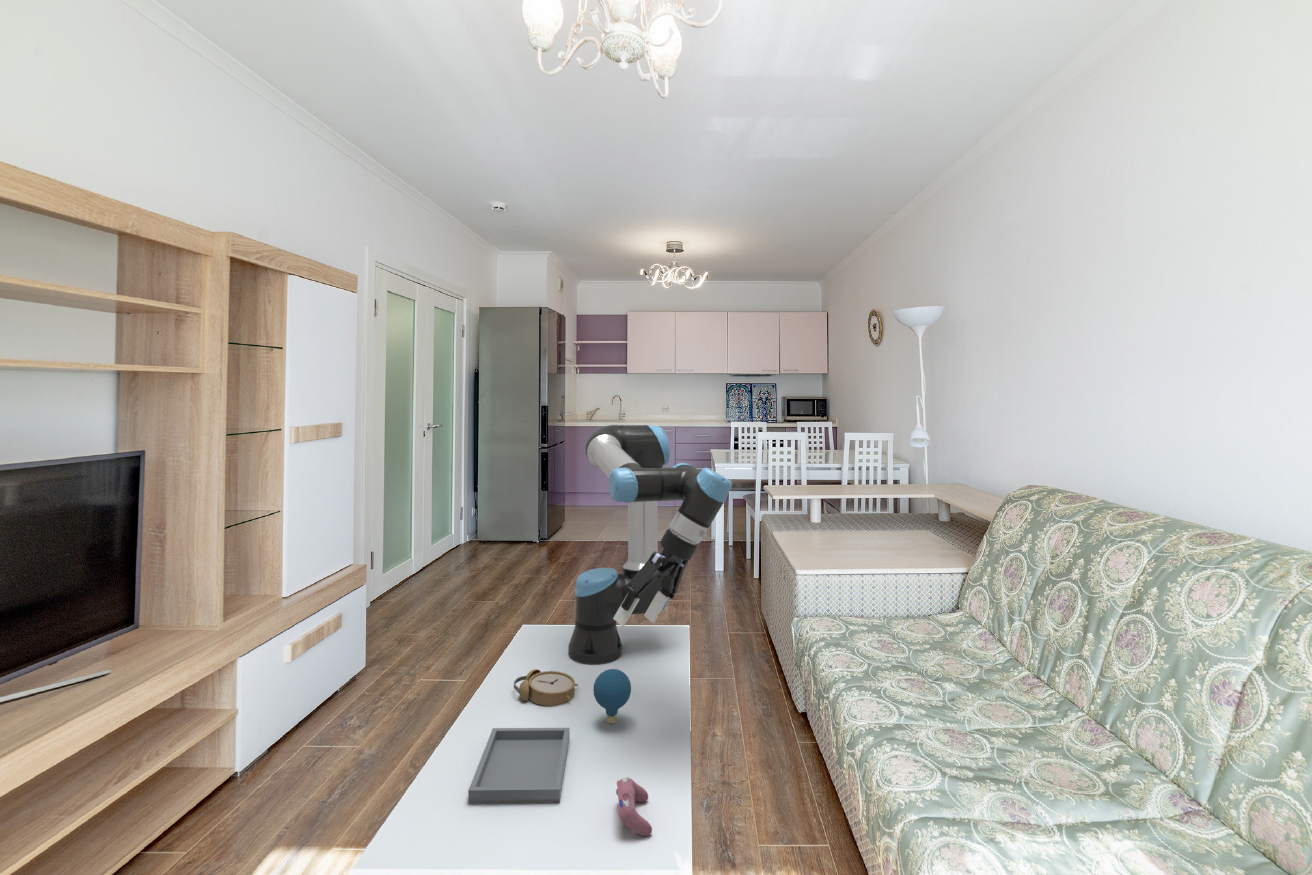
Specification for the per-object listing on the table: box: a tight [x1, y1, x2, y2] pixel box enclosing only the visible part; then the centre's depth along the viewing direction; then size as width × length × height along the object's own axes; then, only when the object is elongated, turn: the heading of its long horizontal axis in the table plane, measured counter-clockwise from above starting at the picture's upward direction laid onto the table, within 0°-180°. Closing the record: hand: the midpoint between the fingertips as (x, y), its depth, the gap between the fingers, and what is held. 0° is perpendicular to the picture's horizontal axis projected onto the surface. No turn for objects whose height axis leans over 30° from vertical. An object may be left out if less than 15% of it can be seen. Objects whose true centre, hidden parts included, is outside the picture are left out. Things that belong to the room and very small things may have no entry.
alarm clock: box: [513, 668, 579, 707], centre depth 145 cm, size 11×5×15 cm
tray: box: [467, 727, 571, 805], centre depth 116 cm, size 20×16×2 cm
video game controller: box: [615, 776, 653, 837], centre depth 103 cm, size 10×5×7 cm, turn 5°
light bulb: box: [593, 668, 632, 724], centre depth 133 cm, size 8×8×12 cm
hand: (634, 620), depth 129 cm, fingers open, 13 cm apart
